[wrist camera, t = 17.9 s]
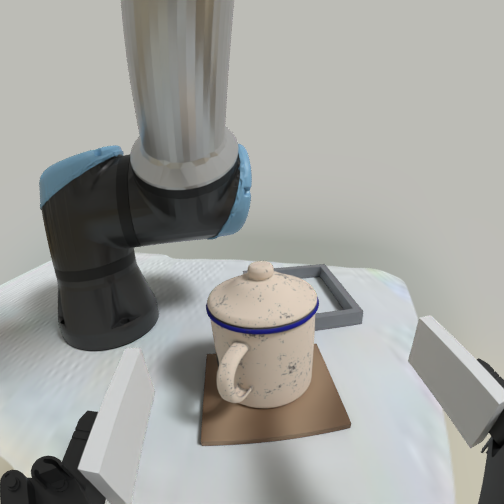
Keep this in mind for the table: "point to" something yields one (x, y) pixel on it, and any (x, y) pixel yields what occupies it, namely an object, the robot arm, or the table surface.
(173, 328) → the table surface
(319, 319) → the holder tray
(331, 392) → the walnut coaster
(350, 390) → the table surface
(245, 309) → the teacup with lid
